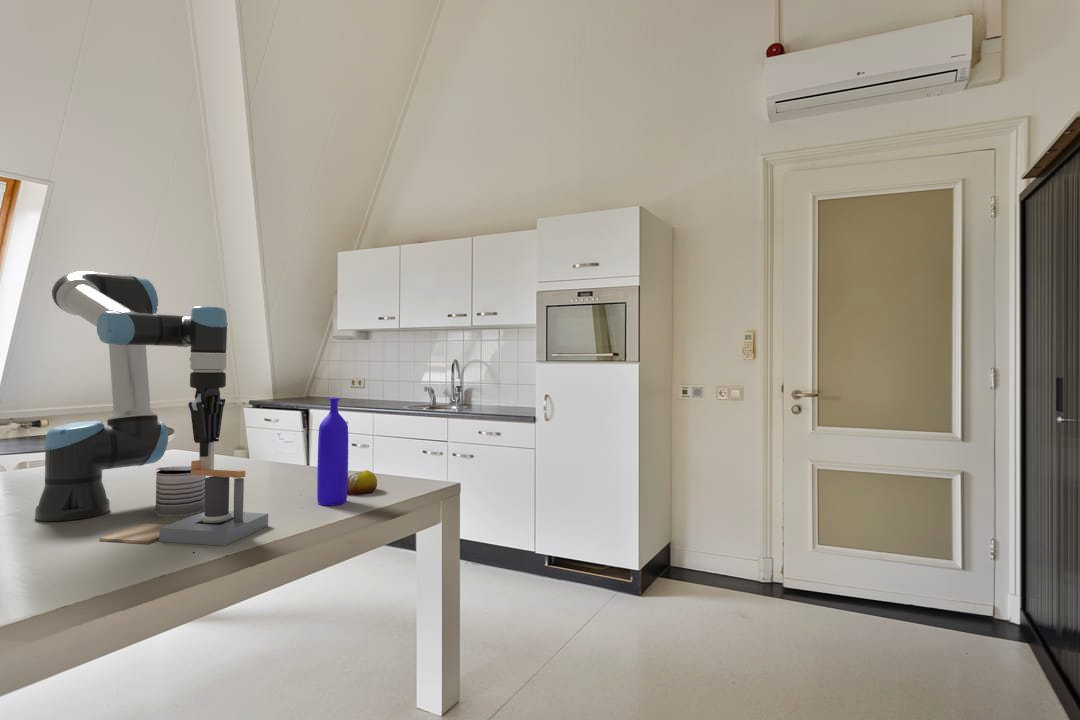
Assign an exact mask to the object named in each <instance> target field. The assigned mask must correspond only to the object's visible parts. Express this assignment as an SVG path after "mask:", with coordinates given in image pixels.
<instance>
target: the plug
mask: <svg viewBox="0 0 1080 720" xmlns="http://www.w3.org/2000/svg"><path fill="white" fill-rule="evenodd" d="M204 512H205V513H204V514H202V516H201V521H202V522H204V524H211V525H222V524H224V523H226V522H229V520H230V519H231V518H232V512H233V511H232V512H230V477H221V476H206V478H205V509H204Z"/></svg>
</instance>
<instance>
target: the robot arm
mask: <svg viewBox="0 0 1080 720" xmlns="http://www.w3.org/2000/svg"><path fill="white" fill-rule="evenodd" d="M51 297H52V299H53V302H54V304H55V305H56V306H57V307H58V308H59V309H60V310H62V311H63V312H65V313H67V314H69V315H73V316H78V317H81V318H82V319H83V320H85V321H86V322H89V323H90V324H91V325H93V326H95V327H96V333H97V336H98V338H99V340H100V341H101V343H104V344H107V345H108V351H109V366H110V368H109V369H110V379H111V380H110V381H111V393H112V395H111V397H112V408H113V409H112V411H113V413H112V414H111V415H110V416H109V417H108V418H107V420H106V422H107V425H105V424H104V423H103V421H101V420H87V421H79V422H78V421H77V422H72V423H65V424H62V425H57V426H55V427H52V428H51V429H49V430H48V431H47V433H46V436H45V445H44V446H43V447H44V450H45V454H44V455H45V457H44V460H45V461H44V466H45V467H44V488H43V490H42V493H41V496H40V499H39V502H38V505H37V506H36V507H35V509H34V510H35V511H34V519H35V520H37V521H41V522H65V521H74V520H81V519H87V518H92V517H96V516H97V517H98V516H100V515H103V514H106V513H108V512H109V511H110V506H111V504H110V503H111V502H110V500H109V498H107V492H106V489H105V486H104V483H103V470H111V469H121V468H128V467H137V466H138V467H140V466H142V467H143V466H144V465H150V464H155V463H156V462H159V461H160V460H162V458H163V457H164V455H165V452H166V451H167V448H168V442H169V430H168V428H167V425H166V423H164V422H162V421H161V420H160V421H159V418H158V413H155V412H154V411H153V410H152V409H151V408H152V407H151V398H150V397H151V396H150V395H151V394H150V385H149V371H148V368H149V367H148V358H147V357H148V355H147V346H157V347H158V346H161V347H162V346H163V347H165V346H167V347H178V348H179V347H183V348H187V347H190V357H189V361H190V368H189V369H191V370H192V372H190V373H189V386H190V388H192V389H195V394H194V401H189V402H188V405H187V406H188V409H189V410H190V411H189V412H190V416H191V418H190V419H191V425H192V426H191V427H192V436H193V441H194V443H195V444H199V446H198V447H199V450H198V451H199V453H198V454H199V457H198V460H201V469H209V470H215V442H217V443H218V442H219V441H220V435H221V427H222V421H223V420H222V419H223V412H224V406H225V404H226V398H221V391H220V389H223V388H225V387H226V386H227V373H226V372H224V371H225V370H227V342H228V341H227V340H228V338H227V337H228V318H227V316H228V315H227V311H226V309H225V308H224V307H219V306H204V305H203V306H201V305H198V306H193V307H192V309H191V311H190V315H175V314H173V315H172V314H157V312H158V307H159V298H158V293H157V289H156V287H155V286H154V284H153V283H152V282H151V280H148V279H147V278H144V277H140V276H134V275H131V274H129V275H127V274H125V275H124V274H115V273H107V272H106V273H105V272H97V271H92V270H82V271H80V270H79V271H74V272H70V273H68V274H65V275H63V276H60V278H59V279H58V280H57V281H55V282H54V285H53V286H52V289H51Z"/></svg>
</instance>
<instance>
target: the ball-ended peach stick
mask: <svg viewBox="0 0 1080 720" xmlns="http://www.w3.org/2000/svg"><path fill="white" fill-rule="evenodd" d="M190 462H191V475H201V476H206V477H212V476H221V477H229V478H233V479H236V478H245V477H246V470H231V469H230V470H229V469H228V470H225V469H224V470H223V469H213V470H209V469H201V460H199V459H197V460H191V461H190Z"/></svg>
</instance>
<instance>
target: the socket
mask: <svg viewBox="0 0 1080 720" xmlns="http://www.w3.org/2000/svg"><path fill="white" fill-rule="evenodd" d="M244 478H245V477H242V478H233V479H234V480H233V511H230V510H229V511H230V512H232V518H231V519H230V520H229V522H226V523H224V524H222V525H211V524H204V522H202V521H201V516H202V514H204V513H205V511H202V512H199V513H196V514H193V515H190V516H189V517H186V518H184V519H181V520H178V521H175V522H172V523H170V524H165V525H166V526H164V527H161V528H159V540H158V541H159V542H162V543H163V542H165V543H179V544H192V545H194V544H195V545H209V546H224V547H225V546H228V545H230V544H233V543H234V542H236V541H239V540H241V539H243V538H245V537H247V536H249V535H251V534H253V533H256V532H259V531H260V530H262V529H264V528H266V527H268V526H269V513H263V512H262V513H261V512H247V511H246V512H245V511H244V496H245V493H244V492H245V486H244V485H245V479H244Z"/></svg>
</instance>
